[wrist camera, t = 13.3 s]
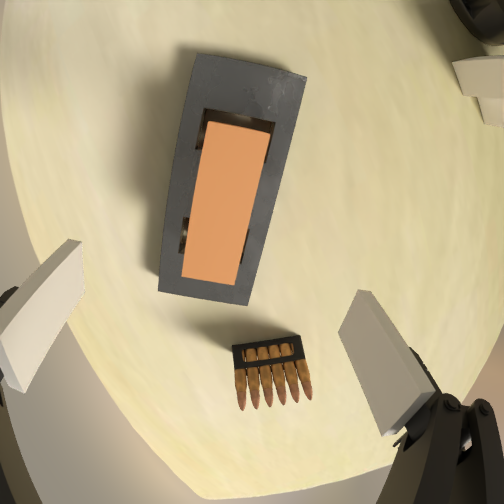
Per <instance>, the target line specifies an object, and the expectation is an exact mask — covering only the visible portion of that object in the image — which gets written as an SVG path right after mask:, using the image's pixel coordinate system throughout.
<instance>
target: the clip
mask: <svg viewBox="0 0 504 504" xmlns="http://www.w3.org/2000/svg"><path fill="white" fill-rule="evenodd" d="M269 139H270V134H269V133H266V132H263V131H259V130H255V129H251V128H246V127H241V126H236V125H231V124H226V123H221V122H216V121H208V125H207V130H206V134H205V139H204V144H203V149H202V154H201V159H200V164H199V169H198V174H197V180H196V185H195V191H194V197H193V202H192V208H191V214H190V221H189V227H188V233H187V240H186V247H185V254H184V261H183V269H182V277H187V278H193V279H199V280H205V281H211V282H216V283H222V284H229V285H234V284H235V280H236V276H237V271H238V267H239V263H240V259H241V254H242V250H243V246H244V242H245V238H246V233H247V229H248V225H249V221H250V217H251V212H252V208H253V204H254V200H255V196H256V192H257V188H258V183H259V179H260V175H261V171H262V167H263V163H264V159H265V155H266V151H267V147H268V143H269Z"/></svg>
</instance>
